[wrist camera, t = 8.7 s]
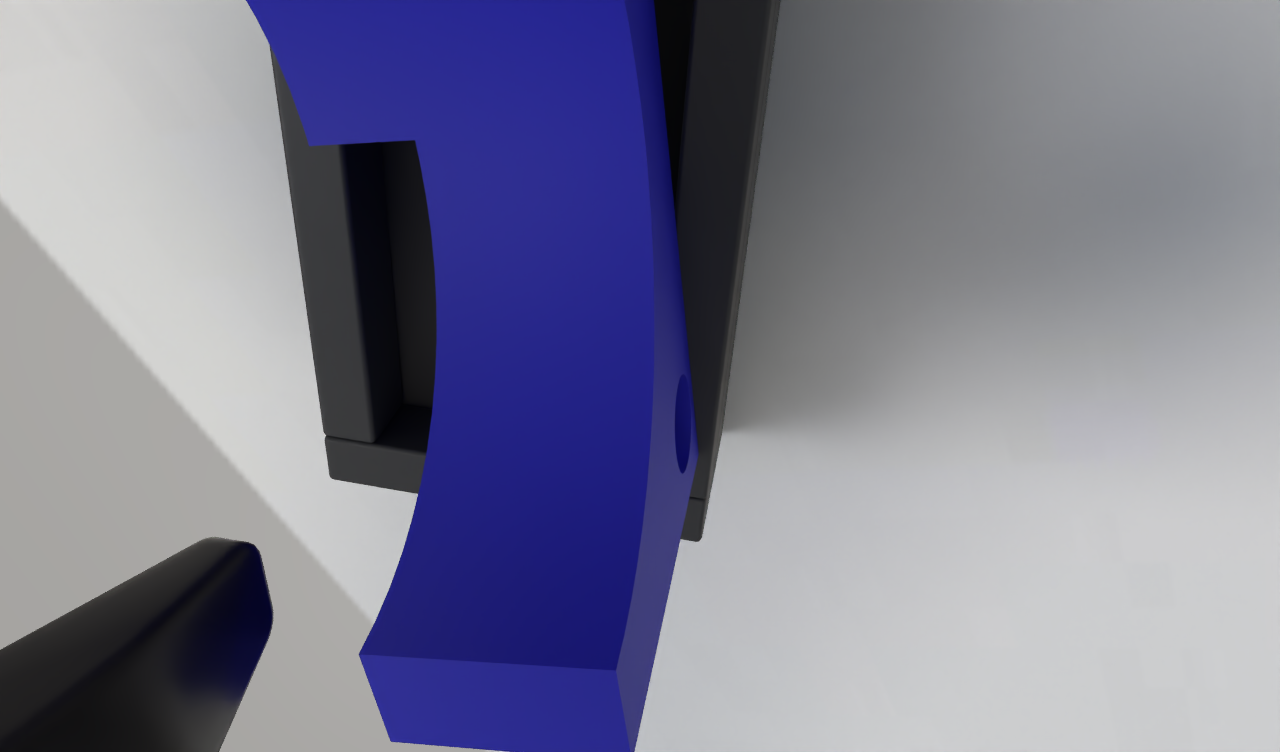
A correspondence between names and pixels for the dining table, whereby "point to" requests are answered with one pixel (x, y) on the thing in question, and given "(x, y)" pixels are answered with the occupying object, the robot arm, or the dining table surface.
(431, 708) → the cable clip
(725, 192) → the power strip
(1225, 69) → the dining table surface
